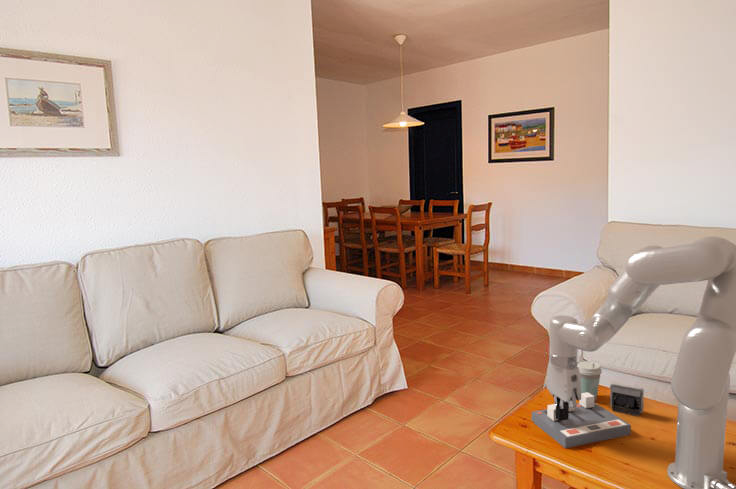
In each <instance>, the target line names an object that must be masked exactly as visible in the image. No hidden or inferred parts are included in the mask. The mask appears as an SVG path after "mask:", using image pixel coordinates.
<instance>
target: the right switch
mask: <svg viewBox="0 0 736 489" xmlns="http://www.w3.org/2000/svg"><path fill="white" fill-rule="evenodd" d="M578 401H579V402H578V403H579V404H580V405H582V406H583V407H585V408H590V407H594V403H595V402H594V396H593V395H592V394H590V393H588V392H586V393H581V400H578Z"/></svg>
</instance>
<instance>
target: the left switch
mask: <svg viewBox="0 0 736 489" xmlns="http://www.w3.org/2000/svg"><path fill="white" fill-rule="evenodd" d="M556 406H557V405H555V403H553V404H547V408H546V409H547V416H548V417H549V418H550V419H552V420H553V421H556V420H558V419H556Z"/></svg>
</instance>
